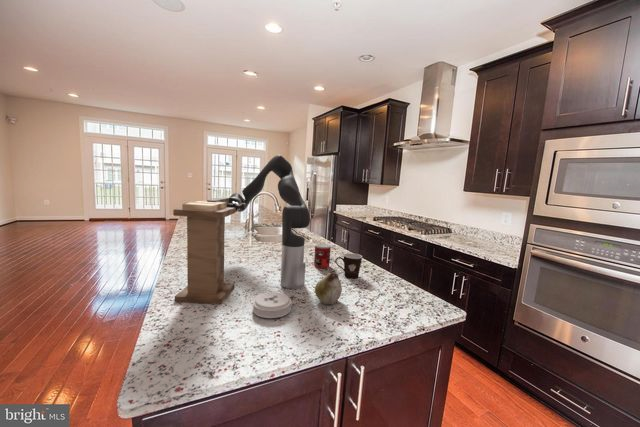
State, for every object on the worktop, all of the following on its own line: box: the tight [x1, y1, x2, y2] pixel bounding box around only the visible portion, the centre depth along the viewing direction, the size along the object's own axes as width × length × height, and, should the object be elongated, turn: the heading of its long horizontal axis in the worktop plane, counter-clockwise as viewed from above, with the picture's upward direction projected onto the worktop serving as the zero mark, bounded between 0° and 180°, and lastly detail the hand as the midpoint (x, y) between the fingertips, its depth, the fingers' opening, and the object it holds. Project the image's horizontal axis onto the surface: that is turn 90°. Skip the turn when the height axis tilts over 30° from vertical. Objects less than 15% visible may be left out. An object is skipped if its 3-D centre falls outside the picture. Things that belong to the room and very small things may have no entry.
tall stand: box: [172, 207, 236, 305], centre depth 98 cm, size 14×16×32 cm
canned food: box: [313, 243, 332, 269], centre depth 139 cm, size 8×8×11 cm
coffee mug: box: [334, 252, 363, 280], centre depth 127 cm, size 12×9×10 cm
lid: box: [252, 291, 292, 319], centre depth 90 cm, size 13×13×5 cm
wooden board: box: [181, 197, 230, 212], centre depth 101 cm, size 26×10×2 cm, turn 0°
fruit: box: [314, 272, 343, 305], centre depth 99 cm, size 10×9×12 cm
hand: (226, 207), depth 117 cm, fingers open, 8 cm apart
